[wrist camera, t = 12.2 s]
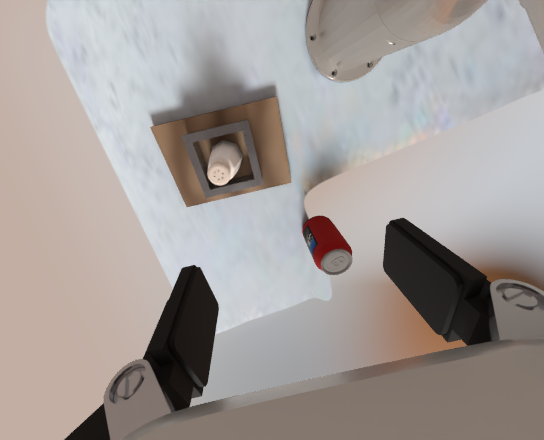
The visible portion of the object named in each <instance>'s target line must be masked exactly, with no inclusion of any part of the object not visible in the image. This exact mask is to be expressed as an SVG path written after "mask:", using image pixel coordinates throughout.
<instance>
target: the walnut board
mask: <svg viewBox="0 0 544 440" xmlns="http://www.w3.org/2000/svg"><path fill="white" fill-rule="evenodd" d="M245 119H248V121H249V125H250V129H251V133H252V138H253V142H254V146H255V150H256V154H257V158H258V163H259V167H260V171H261V175H262V180H263V185H259V186H255V187H251V188H246V189H242V190H238V191H234V192H230V193H225V194H221V195H217V196H213V197H208V198H205V195H204V193H203V190H202V188H201V185H200V183H199V180H198V177H197V175H196V172H195V170H194V167H193V165H192V162H191V160H190V157H189V155H188V152H187V150H186V147H185V145H184V142H183V140H182V137H181V136H182V135H185V134H187V133H191V132H195V131H199V130H204V129H208V128H212V127H216V126H220V125H224V124H229V123H233V122H237V121H241V120H245ZM150 128H151V130H152V132H153V134H154V136H155V139H156V141H157V143H158V145H159V147H160V150H161V152H162V154H163V156H164V158H165V160H166V163H167V165H168V167H169V169H170V171H171V174H172V176H173V178H174V180H175V182H176V185H177V187H178V189H179V191H180V193H181V196H182V198H183V200H184V202H185V204H186V206H187V207H190V206H194V205H198V204H202V203H207V202H211V201H215V200H219V199H224V198H228V197H232V196H236V195H241V194H245V193H249V192H253V191H258V190H262V189H266V188H270V187H274V186H279V185H283V184H287V183H291V178H290V172H289V166H288V160H287V155H286V149H285V143H284V137H283V131H282V125H281V119H280V114H279V108H278V102H277V97H273V98H269V99H264V100H260V101H256V102H252V103H248V104H244V105H240V106H235V107H231V108H227V109H223V110H219V111H215V112H210V113H206V114H202V115H198V116H194V117H190V118H186V119H181V120H177V121H173V122H169V123H165V124H161V125H156V126H152V127H150ZM223 140H225V141H229V142H232V143H235V144H237V146H238V148H239V149H240V151H241V153H242V154H243V157H242V161H241V165H240V168H239V169H238V171H237V173H236V174H235V176H234V177H233V178H237V177H241V176H246V175H250V174H253V171H252V167H251V163H250V159H249V155H248V152H247V148H246V144H245V140H244V136H243V132H242V131H239V132H235V133H230V134H226V135H222V136H218V137H214V138H209V139H205V140H201V141H198V142H199V145H200V148H201V151H202V153H203V156H204V159H205V162H206V164H207V167H208V164H209V159H210V155H211V151H212V148H213V146H215V145H216V144H218V143H219V142H221V141H223ZM233 178H232V179H233Z"/></svg>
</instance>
